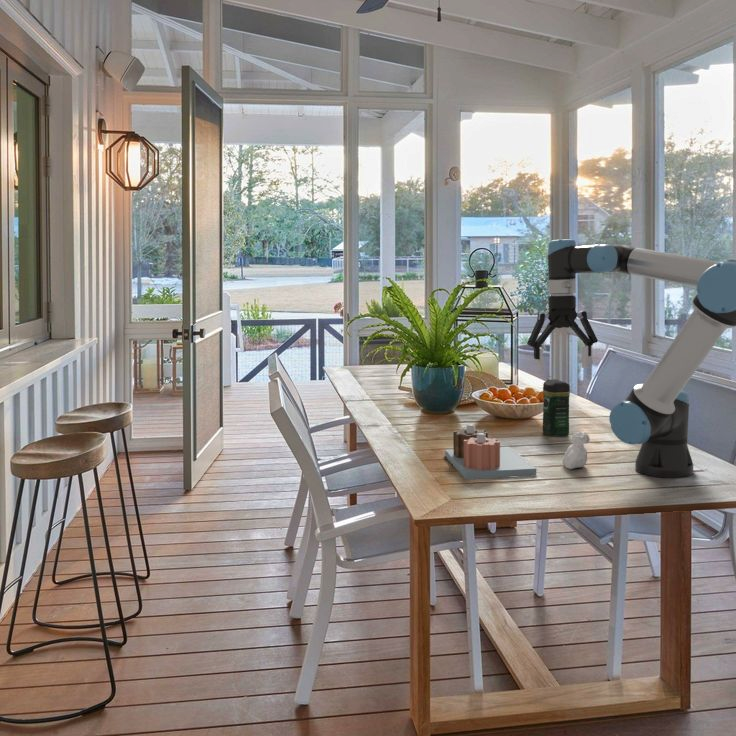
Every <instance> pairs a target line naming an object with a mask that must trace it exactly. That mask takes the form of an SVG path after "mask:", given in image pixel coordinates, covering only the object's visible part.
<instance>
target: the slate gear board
mask: <svg viewBox="0 0 736 736" xmlns="http://www.w3.org/2000/svg"><path fill="white" fill-rule="evenodd" d="M466 429H467V433H469V434H471V433H475V429H476V426H475V424H466ZM477 442H478V443H486V434H484V433H478V434H477ZM444 456H446V457H447V458H446V457H445V458H446V459H447V460H448V461H449V463H450V464H451V465H452V464H453V465H452V466H453V467H454V468H455V470H456V471H457V472H458V473H459V474H460V475H461V476H462V477H463V478H464V480H476V479H479V480H480V479H496V478H498V479H500V478H511V477H510V476H519V477H531V475H536V476H537V467H535V466H534V465H532V464H531V463H530V461H527V460H526V459H525V458H524V457H523V456H522V455H520V454H519V453H518V452H517V451H515V450H514V449H513V448H511V447H510V446H500V467H495V469H492V470H490V469H482V470H477V469H474V468H470V469H468V468H466V465H464V458H457V457H455V455H454V448H453V449H452V448H451V449H445V450H444ZM499 477H500V478H499Z"/></svg>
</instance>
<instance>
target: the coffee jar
mask: <svg viewBox="0 0 736 736" xmlns="http://www.w3.org/2000/svg"><path fill="white" fill-rule="evenodd" d="M542 385H543V386H542V395H543V397H542V398H543V405H542V407H543V409H542V432H543V434H546V435H547V436H550V437H552V436H555V437H559V436H561V437H564V436H568V435H569V434H570V397H571V396H570V394H571V390H570V389H571V388H570V386H571V385H570V384H569V383H568V382H566V381H562V380H559V379H555V378H554V379H552V378H551V379H546V380H545V381H544V382H543V384H542Z"/></svg>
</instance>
